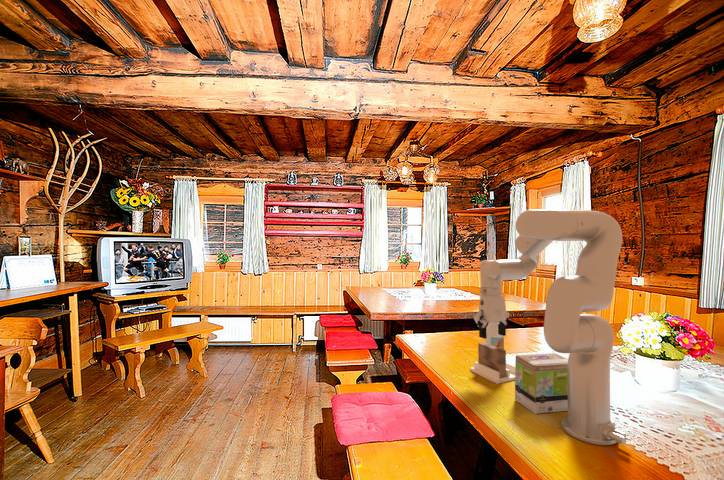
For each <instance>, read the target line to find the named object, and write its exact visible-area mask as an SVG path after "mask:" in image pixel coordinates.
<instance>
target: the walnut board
mask: <svg viewBox="0 0 724 480" xmlns="http://www.w3.org/2000/svg"><path fill="white" fill-rule="evenodd" d="M477 344H478V346H477V347H478V353H477V354H478V355H477V357H478V358H477V359H478V361H477V362H478V363H480V364H483V365H485V366H487V367H489V368H491V369H494V370H496V371H498V372H500V378H504V377H506V362H507V354H506V353H507V350H506V349H505V348H504V349H501V348H498V347H496V346H493V345H490V344H488V343H485V341H483V342H478V343H477Z"/></svg>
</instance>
